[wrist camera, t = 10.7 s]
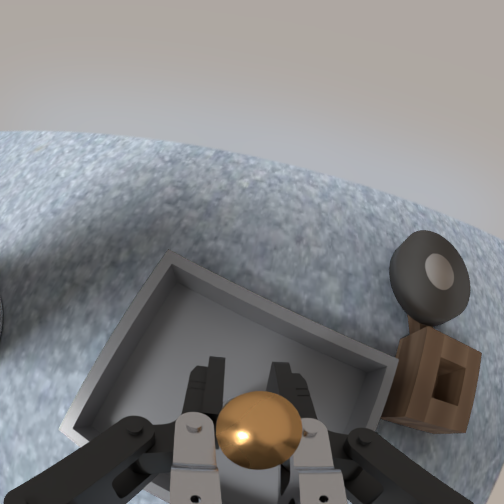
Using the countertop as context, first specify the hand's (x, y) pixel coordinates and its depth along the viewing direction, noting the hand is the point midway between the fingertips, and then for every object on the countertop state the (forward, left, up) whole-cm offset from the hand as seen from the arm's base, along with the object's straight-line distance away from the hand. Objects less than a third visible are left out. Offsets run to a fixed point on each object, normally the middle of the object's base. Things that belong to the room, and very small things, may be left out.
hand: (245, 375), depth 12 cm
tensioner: (+13, +9, -8) cm, 18 cm away
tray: (+1, -2, -8) cm, 8 cm away
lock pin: (+1, -2, -5) cm, 5 cm away
